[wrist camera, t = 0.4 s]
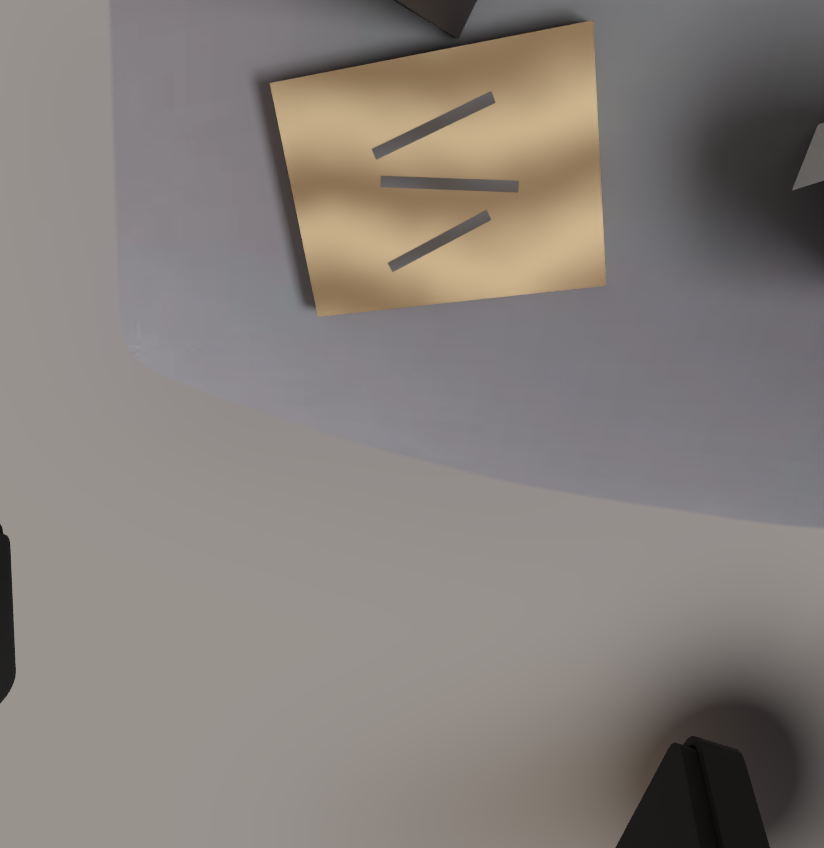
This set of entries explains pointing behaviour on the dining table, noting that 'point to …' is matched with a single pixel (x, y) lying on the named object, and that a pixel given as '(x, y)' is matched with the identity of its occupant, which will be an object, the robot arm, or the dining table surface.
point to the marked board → (448, 173)
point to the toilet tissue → (812, 161)
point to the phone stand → (442, 13)
